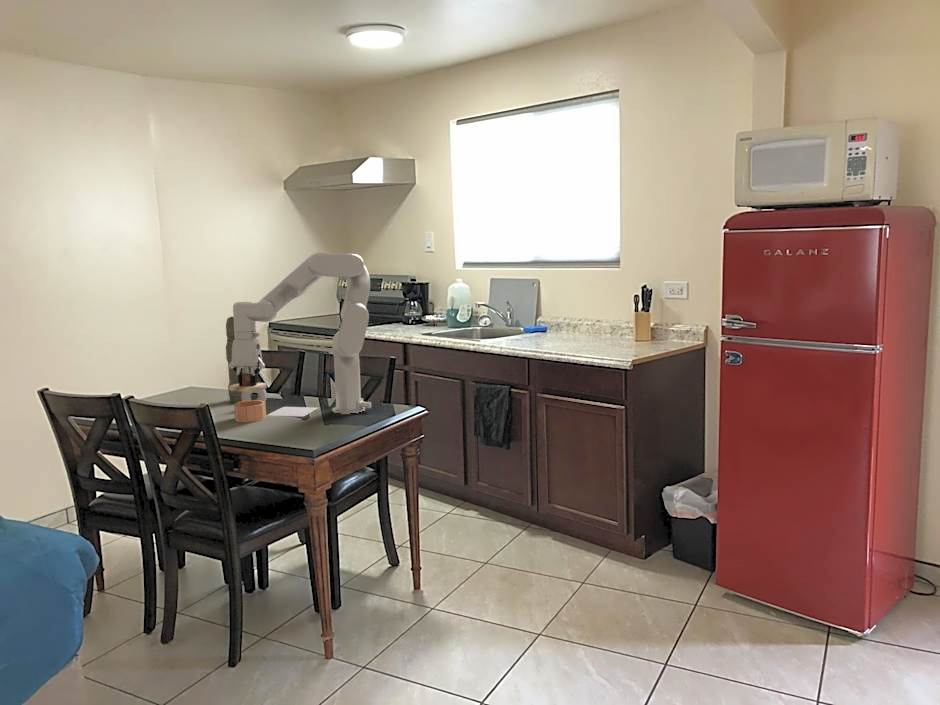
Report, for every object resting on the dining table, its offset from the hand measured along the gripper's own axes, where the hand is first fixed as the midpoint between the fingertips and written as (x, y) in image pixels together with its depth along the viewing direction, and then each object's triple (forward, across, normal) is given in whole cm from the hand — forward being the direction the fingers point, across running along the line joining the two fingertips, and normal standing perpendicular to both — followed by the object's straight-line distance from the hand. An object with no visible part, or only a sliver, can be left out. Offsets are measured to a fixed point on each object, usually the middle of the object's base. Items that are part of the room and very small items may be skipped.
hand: (247, 384), depth 272 cm
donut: (+13, +7, -17) cm, 23 cm away
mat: (+13, -11, -13) cm, 22 cm away
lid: (+1, 0, 0) cm, 1 cm away
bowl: (+13, 0, 0) cm, 13 cm away
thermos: (+13, +20, -30) cm, 38 cm away
